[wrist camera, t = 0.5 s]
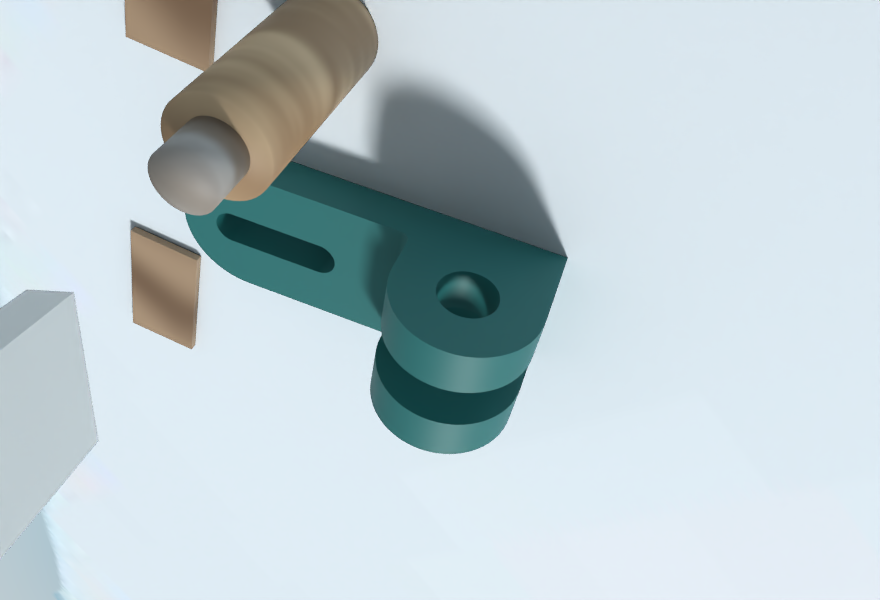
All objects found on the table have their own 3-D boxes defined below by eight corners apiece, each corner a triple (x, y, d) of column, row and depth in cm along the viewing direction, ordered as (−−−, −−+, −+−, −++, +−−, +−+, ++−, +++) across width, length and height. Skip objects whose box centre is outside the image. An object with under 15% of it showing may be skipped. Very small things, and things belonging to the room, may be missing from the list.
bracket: (568, 255, 36) (525, 381, 30) (531, 351, 41) (489, 475, 35) (205, 128, 38) (104, 225, 32) (211, 234, 43) (124, 334, 37)
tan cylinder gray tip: (292, -34, 31) (122, 103, 23) (387, 7, 31) (248, 158, 23) (280, 56, 34) (125, 204, 26) (367, 94, 33) (237, 254, 26)
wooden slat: (127, -160, 29) (120, -157, 29) (225, -118, 29) (219, -115, 29) (136, 318, 50) (133, 322, 49) (195, 344, 49) (191, 349, 49)
